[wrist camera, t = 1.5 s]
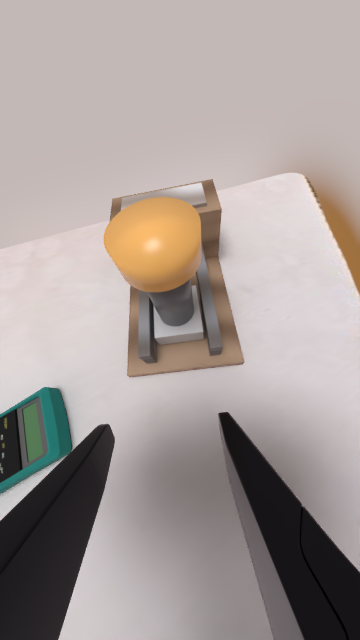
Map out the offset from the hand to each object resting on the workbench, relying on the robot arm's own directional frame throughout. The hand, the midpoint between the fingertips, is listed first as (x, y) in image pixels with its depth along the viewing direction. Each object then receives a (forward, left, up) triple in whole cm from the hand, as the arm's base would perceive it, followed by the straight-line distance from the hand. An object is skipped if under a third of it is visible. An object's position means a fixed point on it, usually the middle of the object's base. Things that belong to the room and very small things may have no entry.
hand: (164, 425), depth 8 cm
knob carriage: (+7, -7, -11) cm, 16 cm away
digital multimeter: (+13, +16, -13) cm, 24 cm away
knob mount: (+11, -11, -13) cm, 20 cm away
